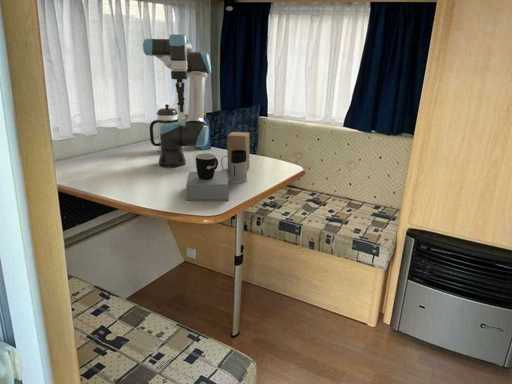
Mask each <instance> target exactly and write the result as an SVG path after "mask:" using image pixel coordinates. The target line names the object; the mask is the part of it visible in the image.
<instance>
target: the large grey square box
mask: <svg viewBox="0 0 512 384" xmlns="http://www.w3.org/2000/svg"><path fill="white" fill-rule="evenodd" d="M227 173H228V170H225V171H224V170H221V171H217V170H215V173H214V176H213V178H212V179H209V180H203V179H200V178H199V177H198V174H197V171H189V173H188V176H187V179H186V184H185V186H186V187H185V189H186V198H185V201H194V202H228V201H229V200H230V197H229V194H230V193H229V179H228V177H229V176H228V175H229V174H227Z"/></svg>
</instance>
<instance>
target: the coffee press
mask: <svg viewBox="0 0 512 384" xmlns="http://www.w3.org/2000/svg"><path fill="white" fill-rule="evenodd" d="M156 115H157V120H156V119H155V120H153V121H151V122H150V125H149V138H150V139H149V140H150V143H151V145H153V146H154V147H159V148H158V149H157V151H158V152H160V153H161V141H160V127H161V126H162V125H164V124H168V123H175V122H178V123H179V114H178V111H177V109H175V108H174V107H170V105H169V103H168V104H167V103H166V104H165V105H164V108H159V109H158V111H157V112H156ZM155 124H157V129H158V131H157V132H158V143H157V142H155V140H154V125H155Z"/></svg>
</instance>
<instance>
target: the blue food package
mask: <svg viewBox="0 0 512 384" xmlns="http://www.w3.org/2000/svg"><path fill="white" fill-rule="evenodd" d="M204 121H205V122H206V126H208V127H209V135H208V141H207V144H206V145H205V146H203V147H196V148H197V149H199V150H203V151H205V150H211V149H212V147H211V146H212V143H211V142H212V140H211V120H210V118H209V117H208V116H207V111H206V110H204Z"/></svg>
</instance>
